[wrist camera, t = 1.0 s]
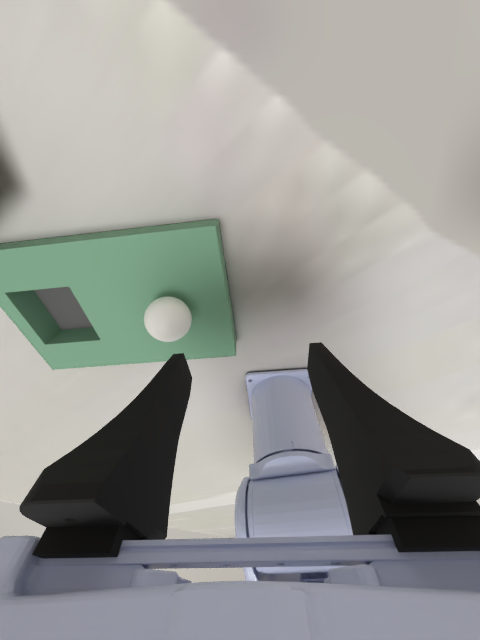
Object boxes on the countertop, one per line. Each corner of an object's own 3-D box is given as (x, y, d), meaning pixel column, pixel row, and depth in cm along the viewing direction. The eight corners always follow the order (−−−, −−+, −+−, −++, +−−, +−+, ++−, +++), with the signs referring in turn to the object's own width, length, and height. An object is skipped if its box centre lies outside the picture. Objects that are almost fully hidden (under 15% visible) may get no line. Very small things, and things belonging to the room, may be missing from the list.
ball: (199, 322, 20) (191, 349, 17) (160, 326, 20) (146, 353, 17) (189, 286, 18) (179, 309, 15) (146, 290, 18) (128, 314, 15)
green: (236, 339, 24) (235, 355, 22) (68, 352, 25) (52, 369, 23) (218, 218, 17) (215, 225, 15) (-11, 244, 18) (-43, 254, 16)
